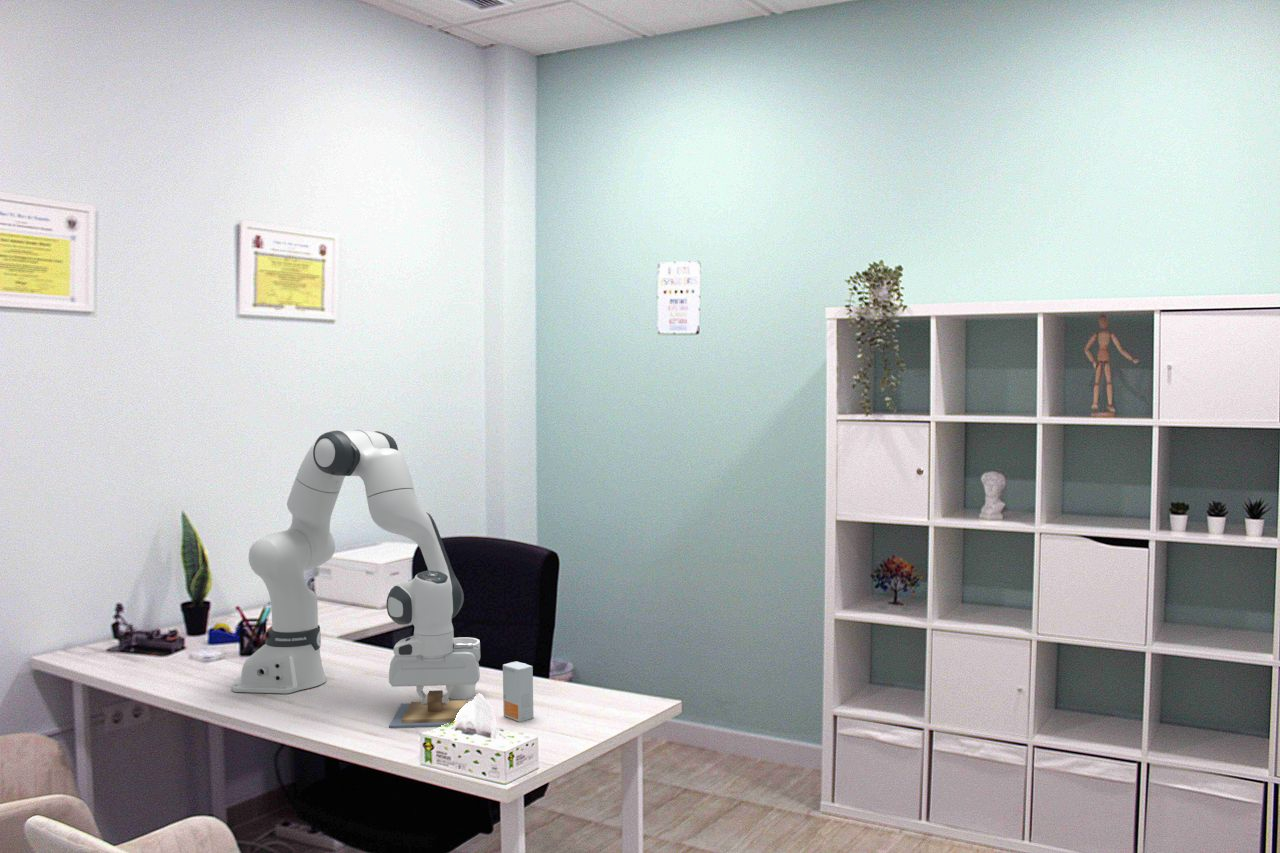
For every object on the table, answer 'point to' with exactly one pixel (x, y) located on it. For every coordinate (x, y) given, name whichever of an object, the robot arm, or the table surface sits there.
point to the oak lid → (433, 710)
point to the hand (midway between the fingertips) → (435, 704)
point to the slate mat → (398, 723)
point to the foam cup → (464, 690)
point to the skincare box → (518, 691)
